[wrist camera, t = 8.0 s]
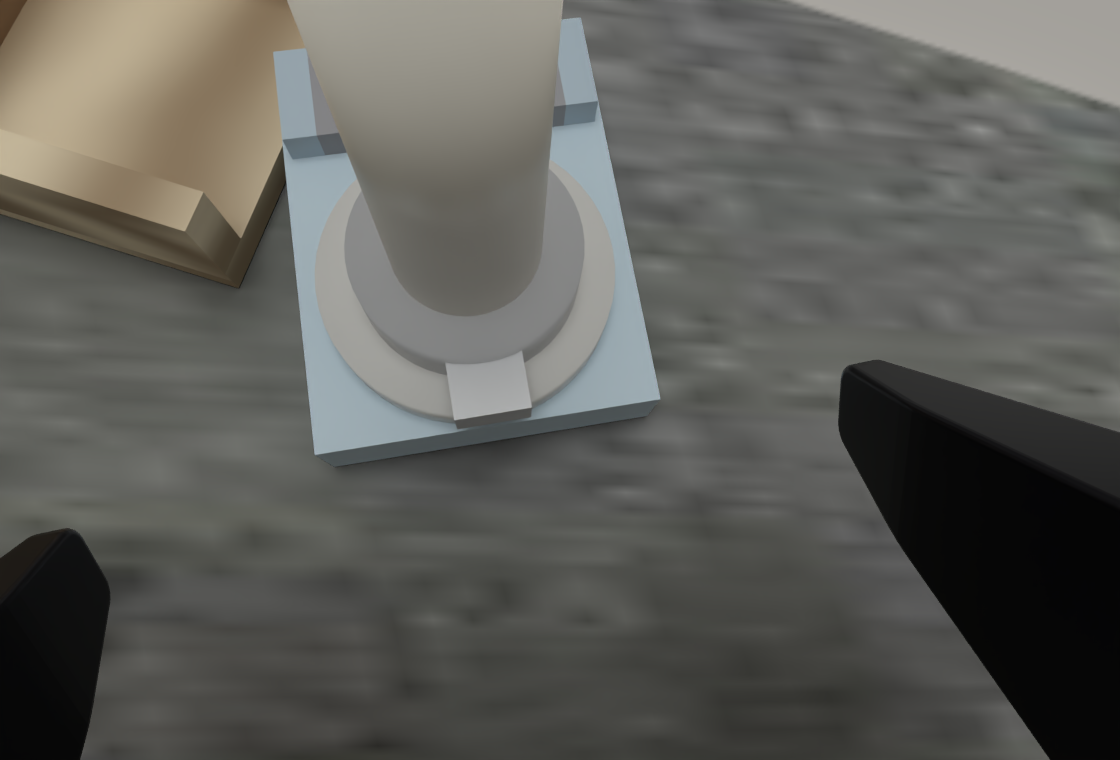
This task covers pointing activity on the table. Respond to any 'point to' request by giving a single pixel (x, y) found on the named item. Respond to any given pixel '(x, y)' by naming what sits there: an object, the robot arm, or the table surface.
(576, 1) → the table surface
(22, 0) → the box
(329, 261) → the grey socket base
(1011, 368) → the table surface
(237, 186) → the bay
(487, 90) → the crank handle
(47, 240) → the table surface
